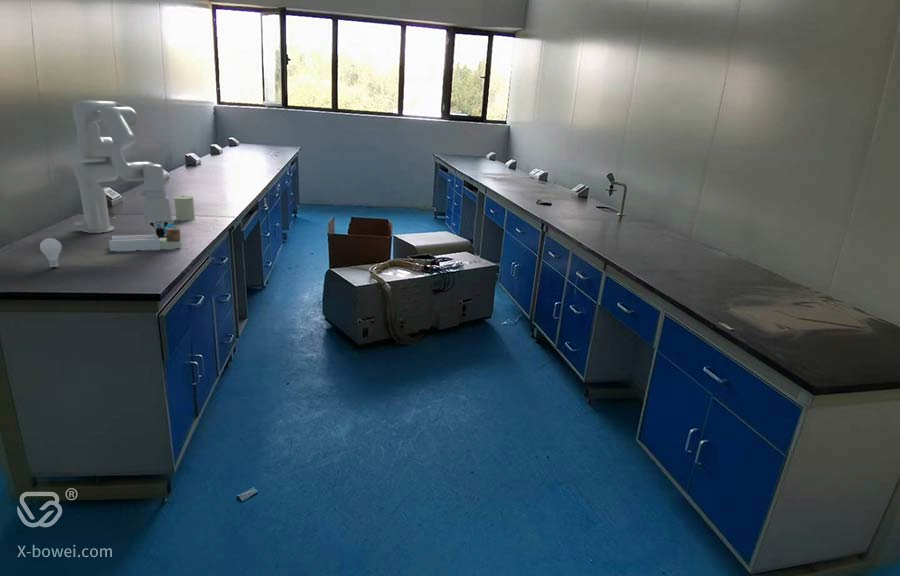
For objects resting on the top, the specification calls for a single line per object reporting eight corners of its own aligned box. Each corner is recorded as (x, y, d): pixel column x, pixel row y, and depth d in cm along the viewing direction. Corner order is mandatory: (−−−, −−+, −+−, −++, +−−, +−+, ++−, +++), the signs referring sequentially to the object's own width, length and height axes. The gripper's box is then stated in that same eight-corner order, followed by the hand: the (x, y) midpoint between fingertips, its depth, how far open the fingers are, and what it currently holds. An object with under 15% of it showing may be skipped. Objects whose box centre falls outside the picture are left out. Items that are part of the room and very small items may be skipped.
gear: (168, 236, 242) (155, 218, 242) (161, 244, 244) (147, 227, 244) (185, 234, 253) (172, 217, 253) (178, 242, 254) (164, 225, 254)
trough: (110, 251, 220) (108, 241, 218) (113, 246, 227) (112, 236, 226) (181, 248, 230) (180, 238, 228) (181, 243, 237) (180, 233, 236)
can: (194, 217, 289) (192, 194, 285) (196, 220, 281) (194, 197, 277) (175, 217, 284) (172, 195, 280) (176, 221, 277) (174, 198, 273)
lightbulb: (49, 271, 193) (43, 241, 189) (40, 267, 196) (34, 238, 192) (68, 267, 198) (63, 238, 194) (60, 264, 201) (54, 235, 197)
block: (166, 241, 228) (165, 230, 226) (167, 238, 232) (166, 227, 231) (180, 241, 230) (178, 229, 228) (180, 238, 234) (179, 227, 233)
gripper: (134, 196, 217) (139, 240, 223) (175, 195, 223) (179, 238, 229) (136, 193, 223) (141, 236, 229) (176, 192, 229) (180, 234, 235)
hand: (160, 237), depth 229 cm, fingers closed
